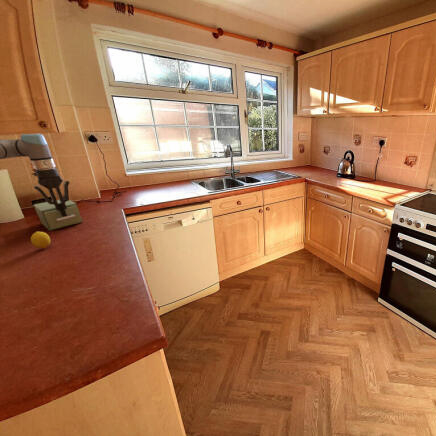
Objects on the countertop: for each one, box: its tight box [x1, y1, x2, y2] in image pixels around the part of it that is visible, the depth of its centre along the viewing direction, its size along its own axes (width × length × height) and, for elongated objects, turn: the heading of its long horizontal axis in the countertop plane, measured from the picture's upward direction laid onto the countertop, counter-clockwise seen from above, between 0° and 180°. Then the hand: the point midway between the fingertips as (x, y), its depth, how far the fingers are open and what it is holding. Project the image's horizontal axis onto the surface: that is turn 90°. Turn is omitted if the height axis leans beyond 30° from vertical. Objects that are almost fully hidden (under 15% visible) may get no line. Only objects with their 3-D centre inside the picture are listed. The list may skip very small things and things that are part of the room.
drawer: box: [44, 206, 83, 230], centre depth 127 cm, size 22×12×9 cm, turn 54°
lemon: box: [30, 230, 51, 249], centre depth 102 cm, size 6×6×8 cm
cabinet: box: [33, 199, 83, 231], centre depth 129 cm, size 18×14×11 cm
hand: (64, 215), depth 122 cm, fingers closed
